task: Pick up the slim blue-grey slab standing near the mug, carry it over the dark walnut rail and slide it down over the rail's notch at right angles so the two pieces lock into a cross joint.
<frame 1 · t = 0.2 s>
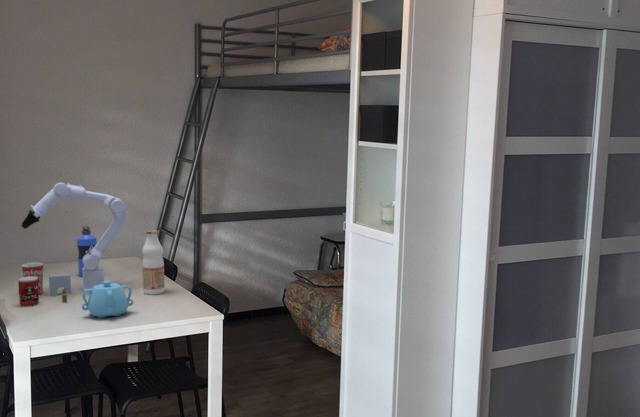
hand: (23, 226, 319), 31 cm above the table, tool tilted 45°, fingers open, 7 cm apart
slim blue-grey slab: (60, 294, 322), on the table
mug: (34, 293, 324), on the table
water bottle: (88, 275, 360), on the table
fruit juice: (154, 292, 325), on the table
canned food: (29, 304, 306), on the table
decorative pot: (108, 314, 289), on the table
rail: (64, 299, 314), on the table
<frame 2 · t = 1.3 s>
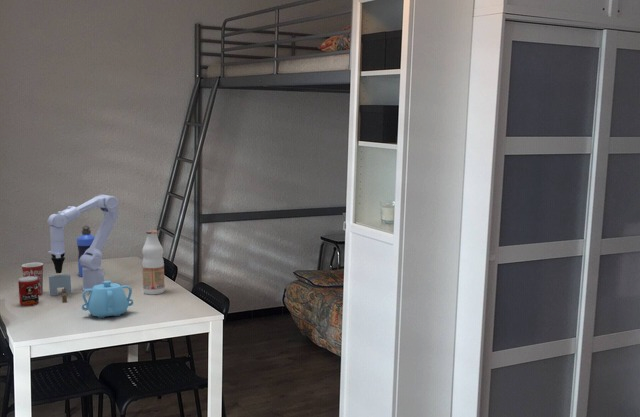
hand: (58, 271, 321), 10 cm above the table, tool pointing down, fingers open, 7 cm apart
nothing on the table moved.
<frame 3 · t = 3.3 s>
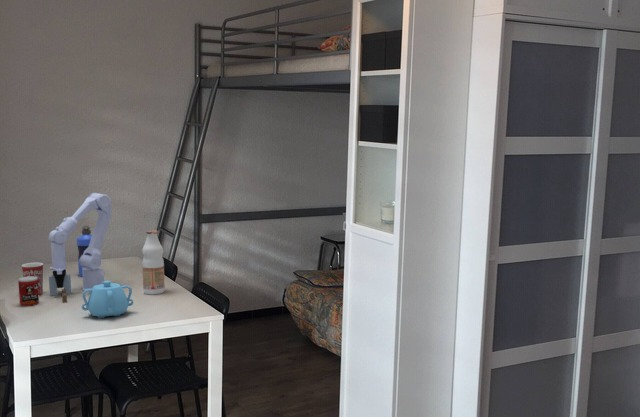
hand: (60, 287, 322), 3 cm above the table, tool pointing down, fingers closed on slim blue-grey slab, 2 cm apart
slim blue-grey slab: (60, 294, 322), on the table, touching gripper
everything else where it was.
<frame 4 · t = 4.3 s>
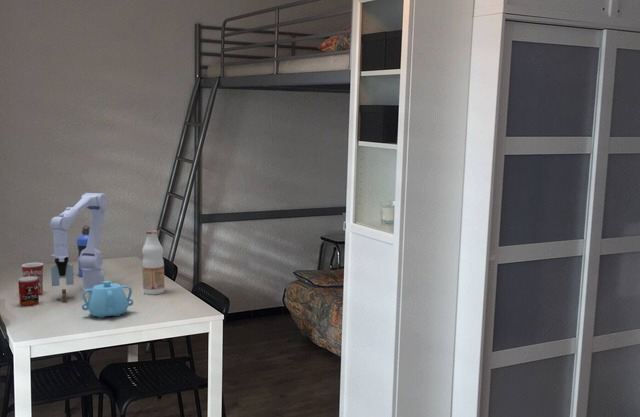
hand: (62, 275, 314), 10 cm above the table, tool pointing down, fingers closed on slim blue-grey slab, 2 cm apart
slim blue-grey slab: (62, 284, 314), point 6 cm above the table, touching gripper
everything else where it was.
when the fingers open (4 cm above the table, at t = 5.6 s): slim blue-grey slab stays where it is, on the table.
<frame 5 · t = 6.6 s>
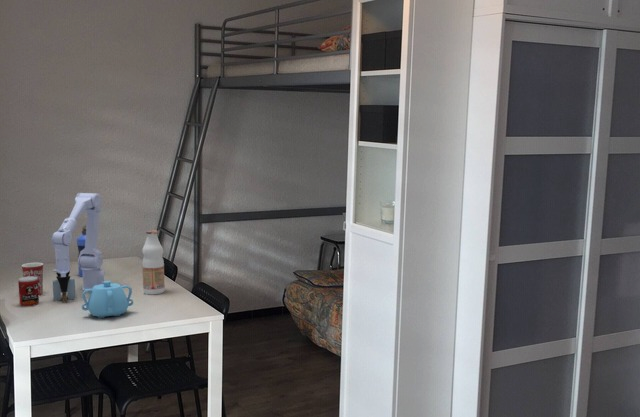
hand: (64, 290, 313), 4 cm above the table, tool pointing down, fingers open, 7 cm apart
slim blue-grey slab: (64, 299, 314), on the table
everything else where it was.
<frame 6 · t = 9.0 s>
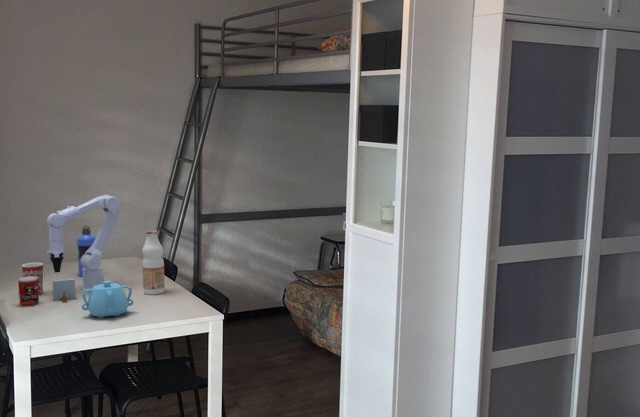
hand: (57, 270, 323), 10 cm above the table, tool pointing down, fingers open, 7 cm apart
nothing on the table moved.
at the end: slim blue-grey slab 0.0 cm off-centre on the rail, point 0.0 cm above the rail's base; slim blue-grey slab tilted 0°; the gripper is holding nothing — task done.
